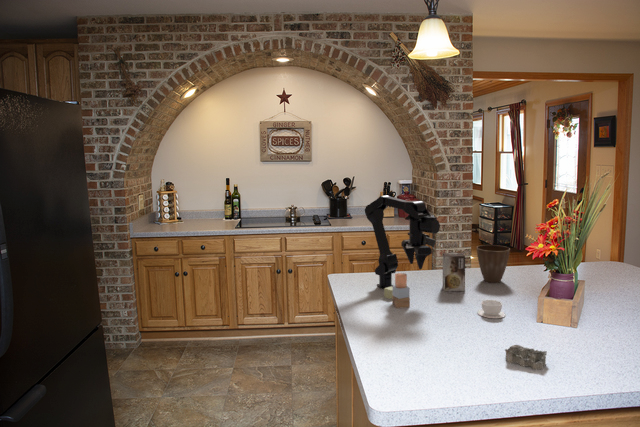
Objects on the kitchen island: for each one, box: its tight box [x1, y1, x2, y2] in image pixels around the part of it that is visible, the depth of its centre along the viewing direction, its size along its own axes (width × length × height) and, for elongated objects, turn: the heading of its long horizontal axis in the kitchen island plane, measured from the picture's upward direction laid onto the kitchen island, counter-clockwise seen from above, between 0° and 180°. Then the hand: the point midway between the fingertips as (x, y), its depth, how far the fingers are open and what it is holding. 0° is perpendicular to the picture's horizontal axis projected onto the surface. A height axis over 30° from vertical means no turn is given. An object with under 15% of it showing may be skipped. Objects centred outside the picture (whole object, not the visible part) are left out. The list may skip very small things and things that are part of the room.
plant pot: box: [476, 244, 511, 284], centre depth 218 cm, size 15×15×16 cm
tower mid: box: [393, 285, 411, 299], centre depth 187 cm, size 5×5×4 cm
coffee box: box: [442, 252, 466, 292], centre depth 207 cm, size 9×6×16 cm
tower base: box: [391, 295, 411, 309], centre depth 187 cm, size 6×6×4 cm
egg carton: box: [504, 344, 548, 370], centre depth 136 cm, size 11×8×4 cm
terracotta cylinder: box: [394, 272, 408, 288], centre depth 186 cm, size 5×5×5 cm
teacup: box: [477, 299, 506, 319], centre depth 175 cm, size 10×10×5 cm
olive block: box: [383, 287, 393, 300], centre depth 198 cm, size 4×4×4 cm
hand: (415, 266), depth 198 cm, fingers open, 9 cm apart
